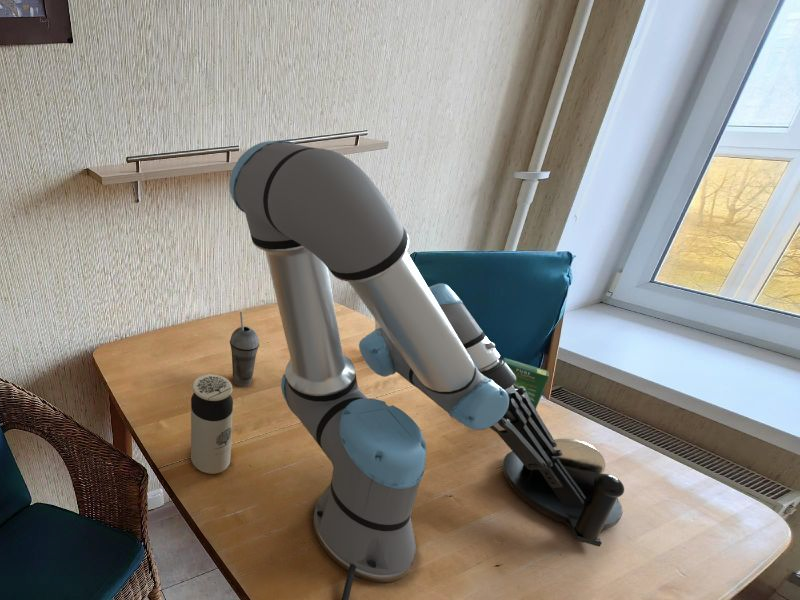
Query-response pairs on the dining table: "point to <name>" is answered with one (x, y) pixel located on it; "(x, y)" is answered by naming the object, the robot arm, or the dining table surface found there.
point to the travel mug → (211, 423)
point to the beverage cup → (243, 354)
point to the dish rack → (587, 475)
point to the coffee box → (529, 379)
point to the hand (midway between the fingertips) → (574, 501)
